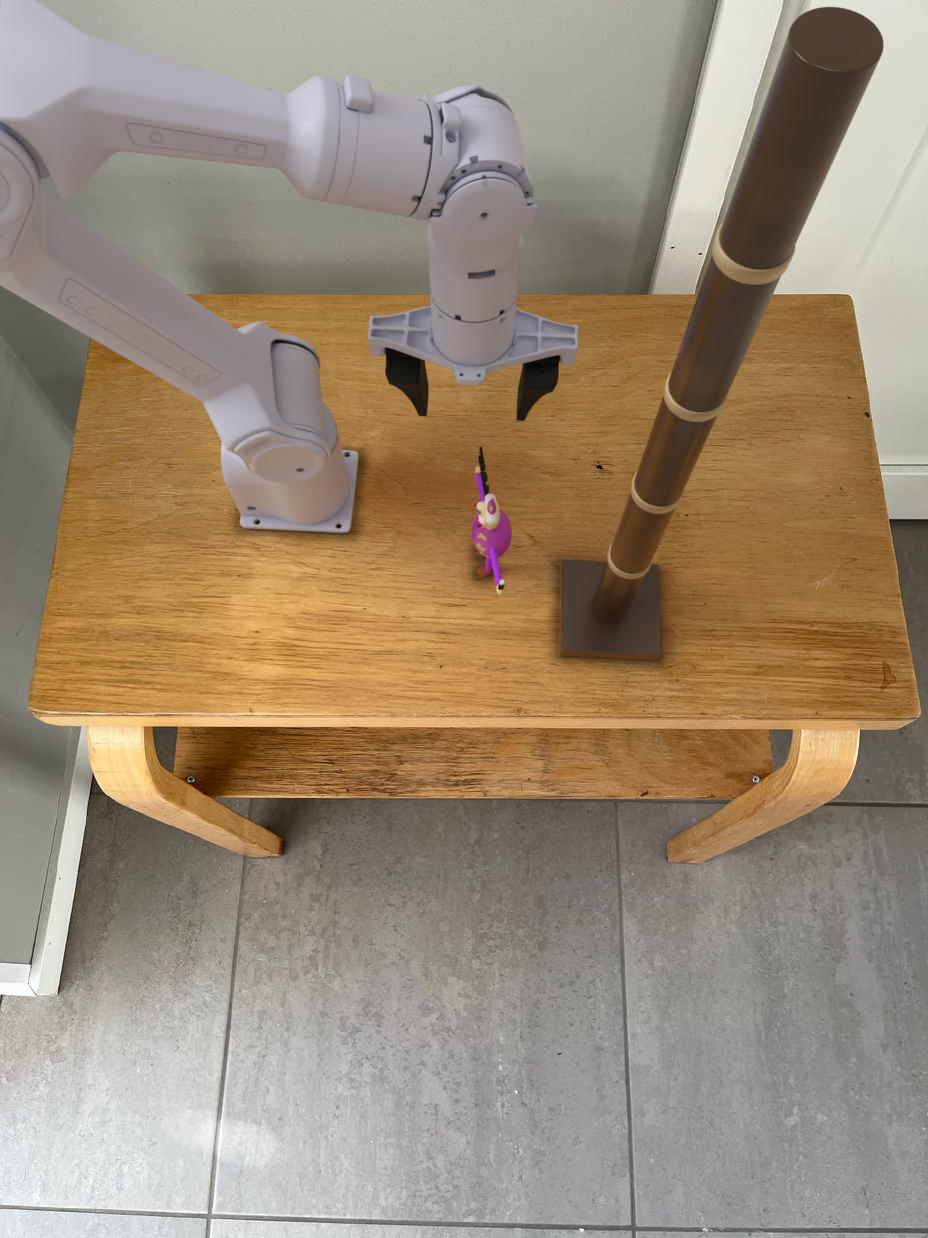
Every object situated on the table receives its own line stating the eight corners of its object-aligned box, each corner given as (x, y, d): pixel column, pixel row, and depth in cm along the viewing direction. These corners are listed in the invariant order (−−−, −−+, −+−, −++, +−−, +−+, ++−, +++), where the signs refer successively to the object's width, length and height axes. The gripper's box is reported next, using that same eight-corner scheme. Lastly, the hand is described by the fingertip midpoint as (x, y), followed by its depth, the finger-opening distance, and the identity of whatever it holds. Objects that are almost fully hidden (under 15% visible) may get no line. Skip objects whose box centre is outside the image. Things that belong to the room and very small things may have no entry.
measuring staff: (558, 656, 74) (716, 125, 28) (560, 566, 77) (705, -51, 31) (657, 661, 74) (982, 136, 28) (655, 571, 77) (947, -43, 30)
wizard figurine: (461, 507, 79) (460, 430, 68) (497, 502, 79) (503, 425, 68) (481, 627, 75) (484, 567, 64) (519, 621, 75) (529, 560, 64)
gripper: (356, 332, 58) (375, 447, 71) (585, 342, 58) (563, 456, 70) (366, 245, 60) (383, 371, 73) (586, 254, 60) (565, 379, 73)
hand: (472, 407), depth 72 cm, fingers open, 7 cm apart
